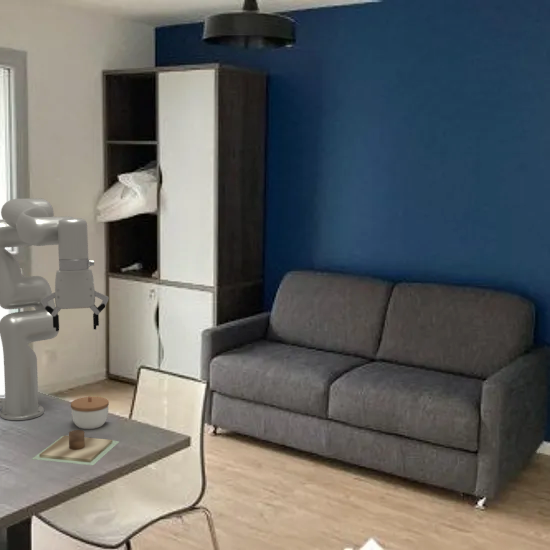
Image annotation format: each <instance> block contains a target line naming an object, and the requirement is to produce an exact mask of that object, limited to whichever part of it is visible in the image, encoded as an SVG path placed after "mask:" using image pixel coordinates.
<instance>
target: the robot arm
mask: <svg viewBox="0 0 550 550" xmlns="http://www.w3.org/2000/svg"><path fill="white" fill-rule="evenodd" d="M54 214H55V213H54V208H53V206H52V204H51V203H50V201H48V200H47V199H44V198H41V197H40V198H39V197H36V198H34V197H33V198H32V197H31V198H27V197H26V198H14V199H10V200H8V201H6V202H5V203H4V204H3V205H2V207H1V210H0V215H1V218H2V219H0V307H1V308H2V309H4V310H17V309H18V310H19V309H26V308H27V309H28V308H34V309H33V310H24V311H15V312H11V313H8V314H5V315H4V316H2V318H1V319H0V340H1V346H2V354H3V371H4V398H1V397H0V408H1V410H0V417H1V418H2V419H4V420H8V421H28V420H31V419H35V418H38V417H40V416H42V415H43V414H44V412H45V410H44V407H43V406H42V405H40V404H39V385H38V383H39V382H38V358H37V357H38V356H37V354H36V352H35V351H34V350H33V348H31V346H30V345H29V344H30V343H34V342H35V343H36V342H40V341H46V340H52V339H54V338H55V337H57V336H58V334H59V332H60V318H59V317H60V315H59V313H60V311H61V310H70V309H71V310H72V309H74V310H75V309H90V310H91V311H92V318H93V320H92V321H93V322H92V323H93V330H95V331H96V330H97V327H99V326H100V321H99V320H100V317H99V315H100V313H102V311H103V310H104V309H105V308H106V306H107V303H108V302H109V299H110V298H109V296H108V295H105V294H103V293H101V292H99V291H96V289H95V280H94V279H95V278H94V274H93V270H92V269H90V267H92V266H95V261H94V260H92V259H89V241H88V240H89V237H88V223H87V221H86V219H84V218H79V217H73V216H70V215H69V216H67V215H65V216H54ZM31 246H34V247H35V246H36V247H41V246H42V247H43V246H57V247H58V248H57V249H58V270H56V272H55V282H54V286H55V287H54V292H52V288H51V285H50V283H49V282H48V280H47V279H46V278H44V277H43V276H39V275H31V276H30V275H29V276H24V275H23V274H22V270H21V266H20V262H19V261H18V259H17V258H16V257H15V256H14V255H13V254H12V253H11V252H10V251H8V250H7V249H6V248H18V247H31ZM96 298H98V299H101V300H102V301H101V303H100V304H99V305H98V307H97V305H96V303H95V302H96Z"/></svg>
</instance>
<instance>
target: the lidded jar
mask: <svg viewBox="0 0 550 550" xmlns="http://www.w3.org/2000/svg"><path fill="white" fill-rule="evenodd" d="M109 403H110V401H109V400H108V399H107V398H105V397H101V396H91V395H89V396H84V397H79V398H76V399H74V400H72V401H71V402H70V410H71V411H70V412H71V418H72V421H73V424H75V426H76V427H77V428H79V429H82V430H83V429H84V430H92V429H93V430H94V429H98V428H101V427H103V426H104V424H105V423H106V421H107V419H108V417H109Z"/></svg>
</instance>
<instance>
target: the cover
mask: <svg viewBox="0 0 550 550" xmlns="http://www.w3.org/2000/svg"><path fill="white" fill-rule="evenodd" d="M62 436H63V437H62ZM62 436H61V437H62V438H61V439H59V438H58V439H59V440H58V439H57V440H58V441H57V442H55V441H54V442H55V443H54V442H53V443H54V444H53V445H51V444H50V445H51V446H50V445H49V446H50V447H49V448H47V447H46V448H47V449H46V450H45V451H43V450H42V451H43V452H42V453H41V454H40V457H41V458H51V459H61V460H71V461H81V462H91V461H92V460H94V459H95V458H96V457H97V456H98V455H99V454H100V453H101V452H103V451H104V450H105V449H106V448H107V447H108V446H109V445H110V444H112V441H113V439H107V438H106V439H105V438H97V437H96V438H95V437H87V436H86V437H85V431H84V430H83V429H82V430H81V429H74V430H71V431H69V432H68V435H62Z"/></svg>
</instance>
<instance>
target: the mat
mask: <svg viewBox="0 0 550 550" xmlns="http://www.w3.org/2000/svg"><path fill="white" fill-rule="evenodd" d="M63 436H64V435H61V436H60V437H59V438H58V439H56V440H55V441H53V442H52V443H50V444H49V445H48V446H47V447H45V448H44V449H42V450H41V451H40V452H38V453H37V454H36V455H35V456H34V457H32V458H31V460H34V461H35V460H37V461H47V462H54V463H55V462H56V463H66V464H74V465H75V464H76V465H84V466H85V465H86V466H95V465H96V463H98V462H99V461H100V460H101V459H102V458H103V457H104V456H105V455H107V453H109V452H110V451H111V450H112V449H113V448H114V447H115V446H117V445H118V444H119V443H120V441H118V440H112V444H110V445H109V446H108V447H107V448H106V449H105V450H104V451H103V452H101V453H100V454H99V455H98V456H97V457H96V458H95V459H94V460H92V461H91V462H81V461H71V460H61V459H51V458H41V457H40V454H41V453H42V452H43V451H45V450H46V449H47V448H49V447H50V446H51V445H53V444H54V443H55V442H57V441H58V440H59V439H61V438H62V437H63Z"/></svg>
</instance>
